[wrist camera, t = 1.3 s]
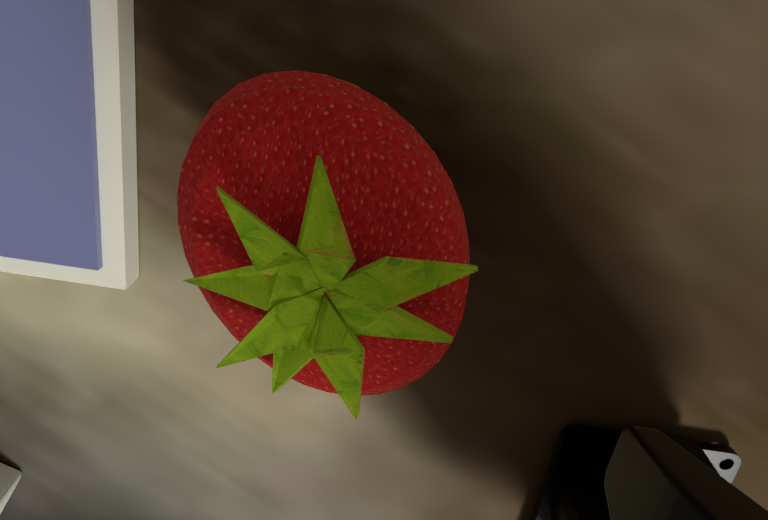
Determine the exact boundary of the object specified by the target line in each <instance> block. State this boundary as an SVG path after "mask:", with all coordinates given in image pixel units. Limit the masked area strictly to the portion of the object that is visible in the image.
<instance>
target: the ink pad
mask: <svg viewBox="0 0 768 520" xmlns="http://www.w3.org/2000/svg"><path fill="white" fill-rule="evenodd" d="M0 271H1V272H8V273H15V274H22V275H28V276H35V277H42V278H49V279H56V280H62V281H69V282H76V283H83V284H89V285H96V286H103V287H110V288H117V289H123V290H126V289H127V288H128V287H129V286H130V285H131V284H132V283H133V282H134V281H135V280H136V279H137V278H138V277H139V254H138V203H137V152H136V102H135V51H134V0H0Z"/></svg>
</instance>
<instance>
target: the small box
mask: <svg viewBox="0 0 768 520" xmlns="http://www.w3.org/2000/svg"><path fill="white" fill-rule="evenodd" d="M20 478H21V472H20V471H19V470H16V469H14V468H12V467H9V466H7V465H5V464H2V463H0V514H1V512H2V511H3V509H4V507H5V505H6V503H7V502H8V500H9V498H10V496H11V494H12V493H13V491H14V489H15V487H16V485H17V484H18V482H19V480H20Z"/></svg>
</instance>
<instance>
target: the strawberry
mask: <svg viewBox="0 0 768 520" xmlns="http://www.w3.org/2000/svg"><path fill="white" fill-rule="evenodd" d="M177 205H178V226H179V230H180V235H181V239H182V243H183V248H184V252H185V256H186V259H187V261H188V263H189V266H190V268H191V271H192V273H193V276H194V278H192V279H187V280H183V281H186V282H189V283H192V284H194V285H197V286H198V287H199V288H200V290H201V292H202V293H203V295H204V297H205V299H206V300H207V302H208V304H209V305H210V307H211V309H212V310H213V312H214V313H215V314H216V315H217V317H218V318H219V319H220V320H221V322H222V323H223V324H224V325H225V327H226V328H227V329H228V330H229V331H230V333H231V334H232V335H233V336H234V337H235V338H236V339H237V340H238V341H239V343H238V344H237V346H236V347H235V348H234V349H233V350H232V351H231V352H230V353H229V354H228V355H227V356H226V357H225V358H224V359H223V360H222V361H221V362H220V364H219V365H218V366H217V367H216V368H219V367H223V366H227V365H230V364H234V363H238V362H241V361H245V360H249V359H253V358H256V357H257V358H259V359H260V360H262V361H263V362H264V363H266V364H267V365H269V366H270V367H272V368H273V377H272V393H273V392H276V391H278V390H279V389H280V388H281V387H282V386H283V385H284V384H285V383H286V382H288V381H289V380H290V379H293V380H295V381H297V382H299V383H301V384H303V385H306V386H310V387H313V388H316V389H319V390H323V391H326V392H329V393H337V394H339V395H340V396H341V398H342V399H343V401H344V402H345V404H346V405H347V407H348V408H349V410H350V411H351V413H352V414H353V416H354V417H355V418H356V420H357V418H358V416H359V410H360V398H361V395H373V394H381V393H385V392H388V391H392V390H395V389H399V388H402V387H404V386H406V385H408V384H409V383H411V382H413V381H415V380H417V379H419V378H421V377H422V376H423V375H424V374H426V373H427V372H428V371H429V370H430V369H431V368H432V367H433V366H435V365H436V364H437V363H438V362H439V361H440V360H441V358H442V357H443V355H444V354H445V352H446V351H447V350H448V348H449V347H450V345H451V344H452V342H453V341H454V338H455V336H456V333H457V331H458V328H459V326H460V323H461V321H462V318H463V313H464V308H465V302H466V296H467V291H468V284H469V278H470V274H472V273H474V272H476V271H478V266H477V265H470V250H469V239H468V233H467V228H466V222H465V216H464V212H463V209H462V207H461V204H460V201H459V199H458V196H457V194H456V191H455V188H454V186H453V183H452V181H451V179H450V178H449V176H448V174H447V173H446V171H445V169H444V167H443V166H442V164H441V162H440V161H439V159H438V157H437V155H436V154H435V152H434V151H433V150H432V149H431V147H430V146H429V145H428V144H427V143H426V141H425V140H424V139H423V138H422V136H421V135H420V134H419V133H418V132H417V130H416V129H415V128H414V127H413V126H412V125H411V124H410V123H409V122H408V121H407V120H405V119H404V118H403V117H402V116H401V115H400V114H399V113H397V112H396V111H395V110H394V109H393V108H392V107H390V106H389V105H388V104H387V103H386V102H384V101H382V100H381V99H379V98H377V97H376V96H374V95H372V94H371V93H369V92H367V91H366V90H364V89H362V88H361V87H359V86H357V85H354V84H352V83H349V82H346V81H343V80H341V79H338V78H335V77H332V76H330V75H327V74H321V73H313V72H306V71H299V70H290V71H281V72H271V73H264V74H262V75H259V76H257V77H254V78H252V79H249V80H246V81H244V82H241V83H239V84H238V85H236V86H235V87H234V88H232V89H231V90H230V91H228V92H227V93H226V94H224V95H223V96H222V97H220V98H219V99H218V100H217V101H216V102H215V103H214V105H213V106H212V107H211V109H210V110H209V111H208V113H207V114H206V115H205V117H204V118H203V119H202V121H201V122H200V124H199V127H198V129H197V131H196V134H195V136H194V138H193V141H192V143H191V146H190V148H189V150H188V153H187V155H186V158H185V160H184V162H183V165H182V168H181V174H180V180H179V187H178V193H177Z"/></svg>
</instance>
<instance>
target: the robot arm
mask: <svg viewBox="0 0 768 520" xmlns="http://www.w3.org/2000/svg"><path fill="white" fill-rule="evenodd" d="M576 437H579V439H578V440H576V441H571V440H572V439H573V438H576ZM724 459H726V460H725V461H723V462H721V461H722V460H724ZM740 465H741V460H740V457H739V456H738V455H737V453H736V452H735V451H734V450H733V449H732V448H731V447H728V446H724V445H717V444H710V443H703V442H697V441H693V440H686V439H679V438H672V437H668V436H667V435H665V434H664V433H663V432H661V431H660V430H657V429H654V428H647V427H640V426H633V425H630V426H627V427H625V428H624V430H623V431H619V430H612V429H605V428H598V427H591V426H584V425H570V426H567V427H566V428H564V429H563V430H562V432H561V433H560V436H559V439H558V442H557V445H556V448H555V451H554V454H553V457H552V459H551V462H550V465H549V468H548V471H547V474H546V477H545V480H544V483H543V486H542V489H541V491H540V494H539V497H538V500H537V503H536V506H535V509H534V512H533V515H532V518H531V520H768V511H767V510H765V509H764V508H763V507H761V506H760V505H759V504H757V503H756V502H755V501H753V500H752V499H751V498H749V497H748V496H747V495H745V494H744V493H743V492H741V491H740V490H739V489H737V488H736V487H735V486H733V485H732V484H731V483H732V481H733V479H734V477H735V475H736V473H737V471H738V469H739V467H740Z"/></svg>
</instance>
